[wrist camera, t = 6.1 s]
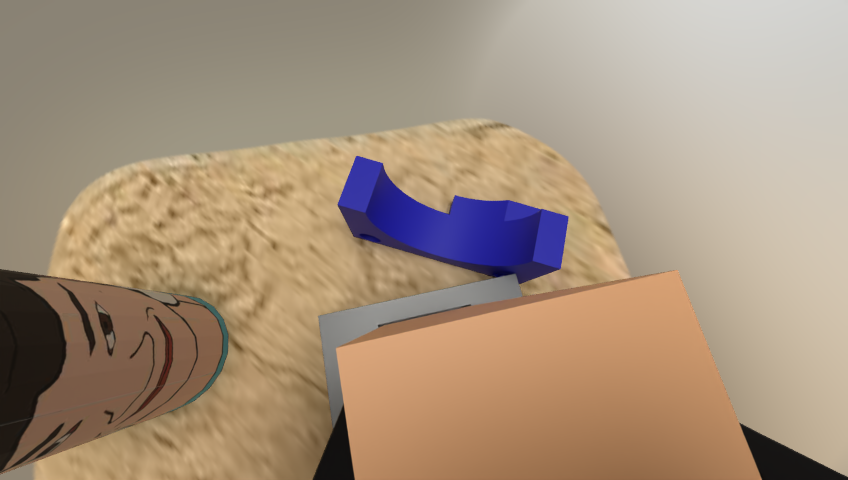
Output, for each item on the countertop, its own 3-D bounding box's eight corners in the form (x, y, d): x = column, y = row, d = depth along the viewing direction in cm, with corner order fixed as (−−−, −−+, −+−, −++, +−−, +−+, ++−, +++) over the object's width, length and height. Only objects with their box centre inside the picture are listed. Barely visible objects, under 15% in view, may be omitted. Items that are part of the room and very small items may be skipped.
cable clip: (529, 225, 23) (572, 192, 17) (518, 284, 22) (560, 268, 16) (373, 181, 23) (365, 132, 17) (353, 236, 22) (337, 204, 16)
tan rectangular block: (497, 401, 15) (852, 704, 3) (402, 427, 14) (415, 905, 3) (473, 305, 16) (677, 270, 4) (383, 325, 15) (335, 347, 4)
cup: (163, 438, 18) (-846, 916, 3) (84, 362, 19) (-1018, 485, 4) (252, 340, 20) (-169, 382, 5) (176, 274, 20) (-377, 144, 6)
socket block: (537, 403, 20) (557, 413, 17) (346, 454, 18) (338, 474, 16) (503, 279, 22) (515, 273, 19) (328, 317, 20) (318, 315, 18)
